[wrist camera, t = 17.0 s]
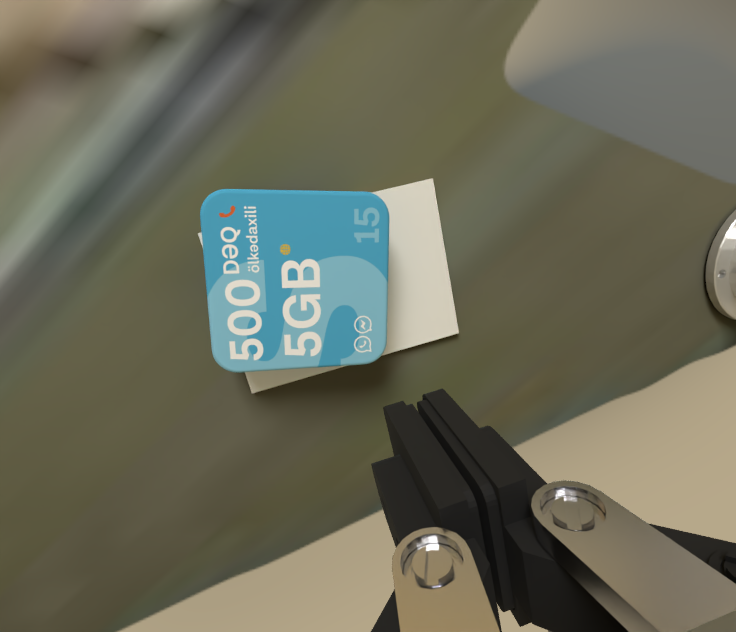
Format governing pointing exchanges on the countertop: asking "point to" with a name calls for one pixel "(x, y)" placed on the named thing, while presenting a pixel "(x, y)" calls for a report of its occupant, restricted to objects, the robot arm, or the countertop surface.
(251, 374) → the mat
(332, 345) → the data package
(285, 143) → the countertop surface
